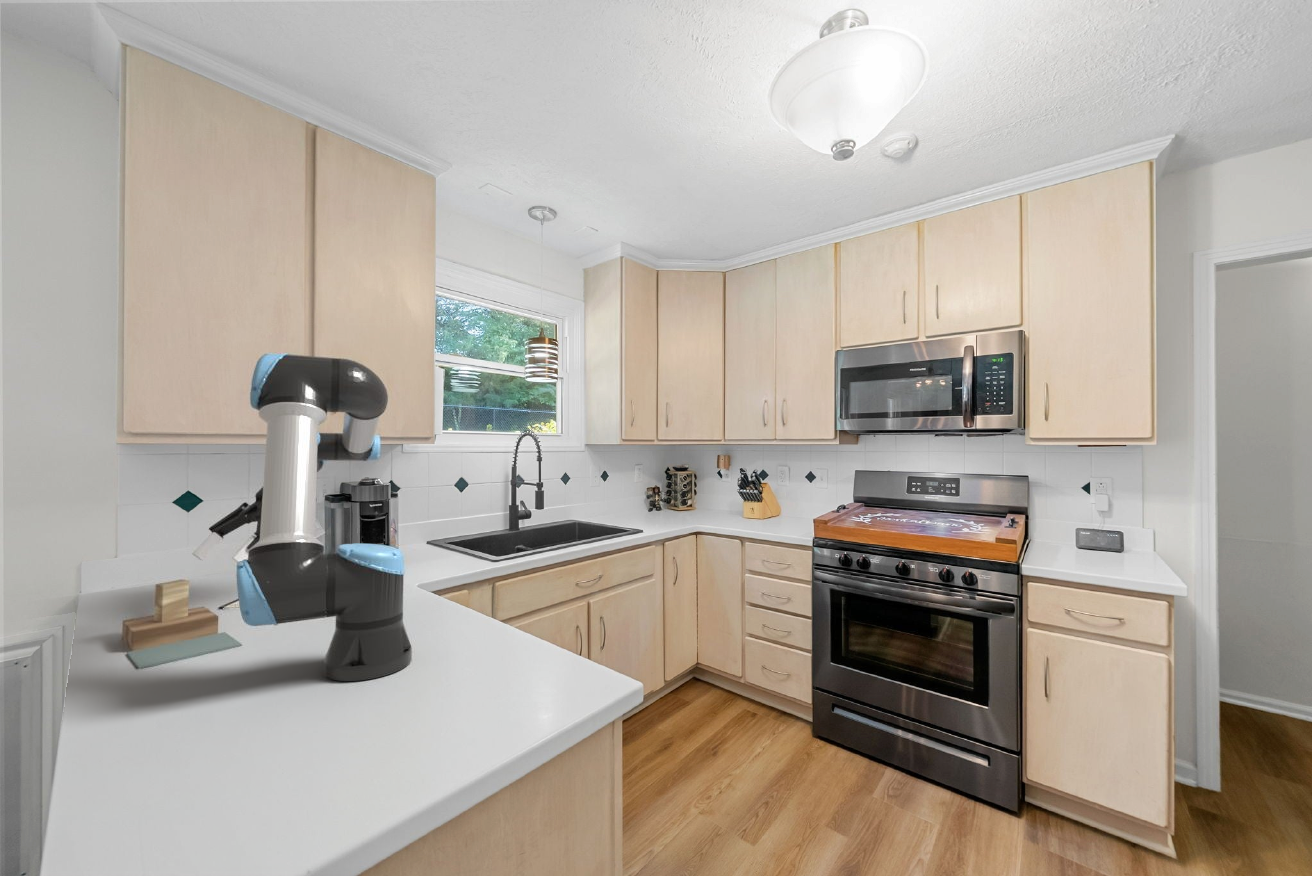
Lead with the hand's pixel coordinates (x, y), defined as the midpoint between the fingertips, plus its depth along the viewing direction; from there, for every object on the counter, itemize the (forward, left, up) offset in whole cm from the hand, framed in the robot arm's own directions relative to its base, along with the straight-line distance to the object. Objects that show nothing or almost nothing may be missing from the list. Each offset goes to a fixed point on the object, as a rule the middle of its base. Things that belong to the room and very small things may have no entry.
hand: (216, 559), depth 130 cm
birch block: (-4, +9, -11) cm, 15 cm away
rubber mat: (-17, +9, -15) cm, 24 cm away
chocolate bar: (+17, -13, -16) cm, 27 cm away
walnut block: (-4, +9, -15) cm, 18 cm away
